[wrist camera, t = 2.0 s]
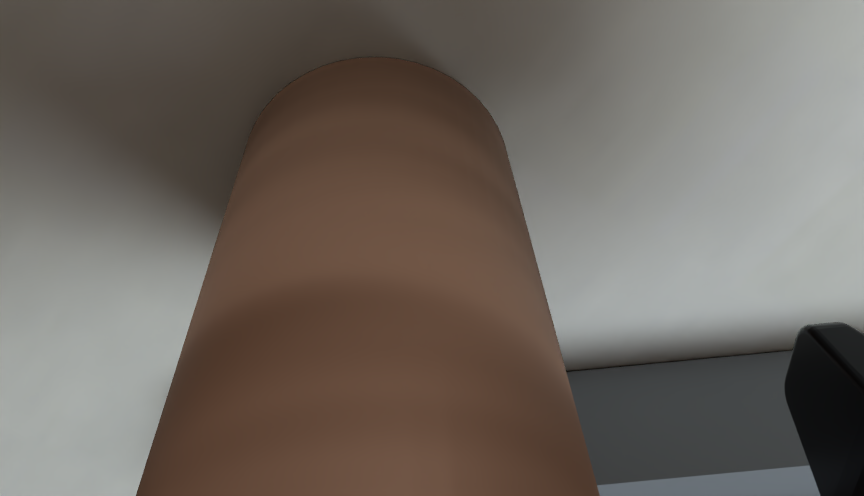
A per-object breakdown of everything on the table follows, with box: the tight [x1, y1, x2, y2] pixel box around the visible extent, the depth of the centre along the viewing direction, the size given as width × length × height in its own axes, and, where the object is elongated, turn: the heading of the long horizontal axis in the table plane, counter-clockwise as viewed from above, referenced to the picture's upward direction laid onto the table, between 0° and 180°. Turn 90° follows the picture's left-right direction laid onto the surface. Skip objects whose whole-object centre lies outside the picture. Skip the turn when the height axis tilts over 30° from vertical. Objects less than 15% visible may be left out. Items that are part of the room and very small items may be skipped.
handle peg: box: [136, 57, 600, 496], centre depth 7 cm, size 4×4×10 cm
